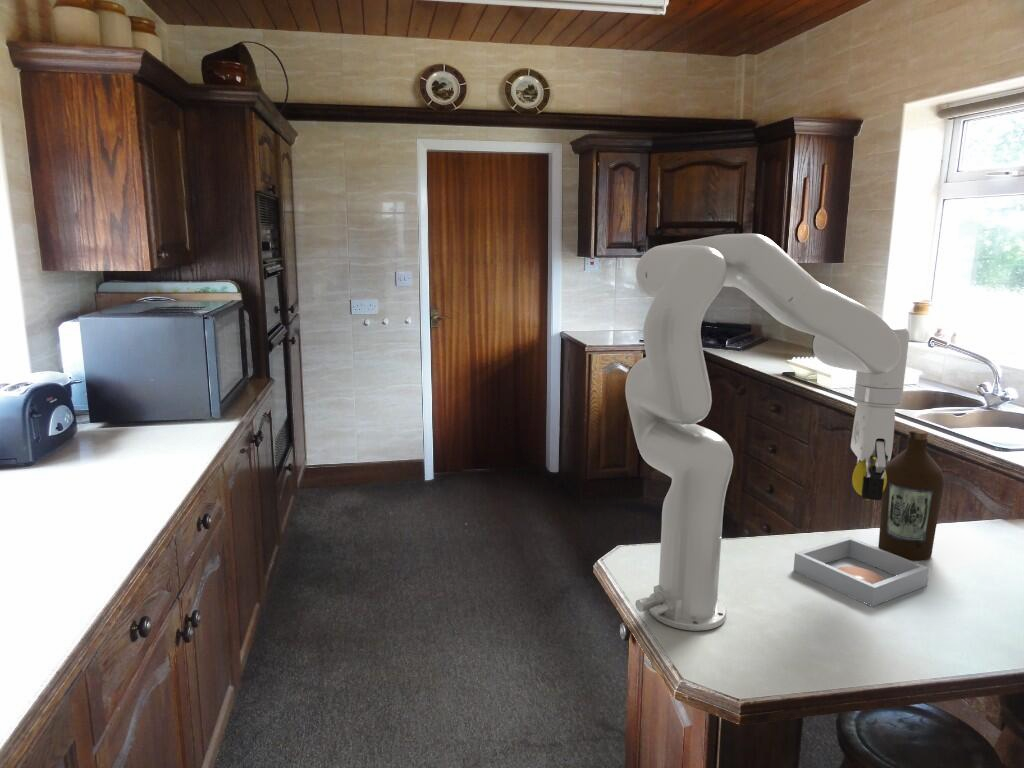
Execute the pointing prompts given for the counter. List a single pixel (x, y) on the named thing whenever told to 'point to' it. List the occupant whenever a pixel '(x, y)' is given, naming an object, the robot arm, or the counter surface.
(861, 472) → the lemon
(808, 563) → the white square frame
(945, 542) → the counter surface
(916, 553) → the brown glass bottle
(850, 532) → the counter surface
